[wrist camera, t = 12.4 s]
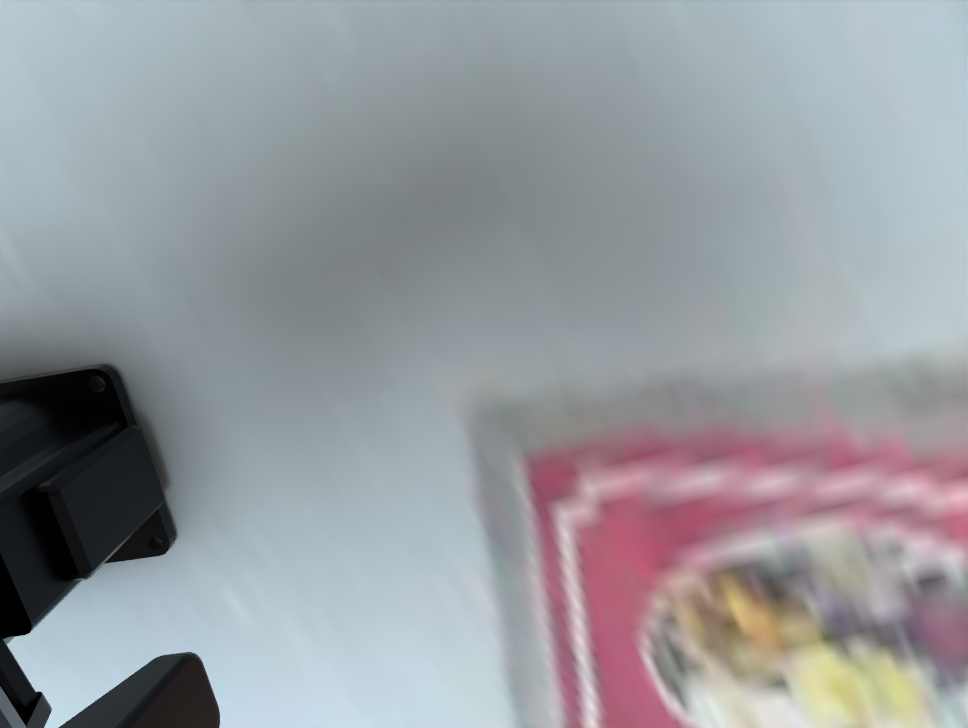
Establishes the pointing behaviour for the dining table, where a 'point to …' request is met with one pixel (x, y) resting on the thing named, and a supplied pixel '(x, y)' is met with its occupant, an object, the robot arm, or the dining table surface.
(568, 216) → the dining table surface
